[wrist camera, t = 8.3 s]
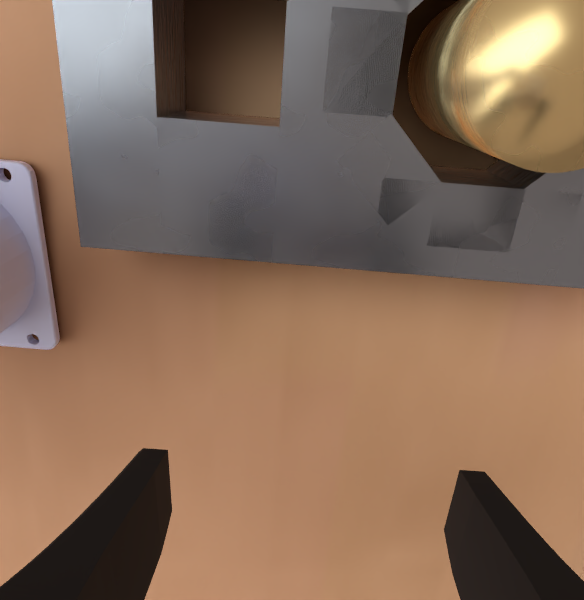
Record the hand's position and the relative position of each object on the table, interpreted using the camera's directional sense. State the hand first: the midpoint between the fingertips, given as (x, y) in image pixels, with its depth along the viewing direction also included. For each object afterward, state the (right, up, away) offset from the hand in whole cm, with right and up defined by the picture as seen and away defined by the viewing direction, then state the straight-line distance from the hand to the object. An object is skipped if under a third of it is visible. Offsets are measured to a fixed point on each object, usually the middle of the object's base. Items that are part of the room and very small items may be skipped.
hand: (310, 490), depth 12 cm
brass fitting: (+6, +13, +4) cm, 14 cm away
